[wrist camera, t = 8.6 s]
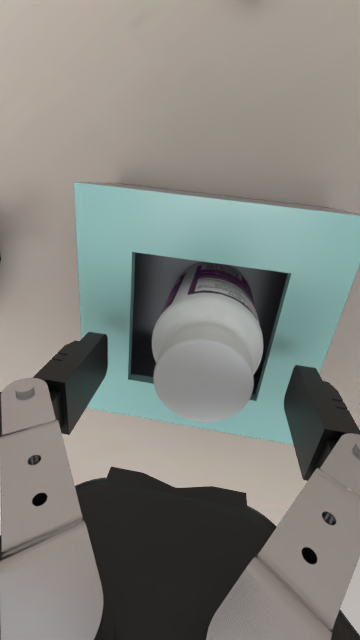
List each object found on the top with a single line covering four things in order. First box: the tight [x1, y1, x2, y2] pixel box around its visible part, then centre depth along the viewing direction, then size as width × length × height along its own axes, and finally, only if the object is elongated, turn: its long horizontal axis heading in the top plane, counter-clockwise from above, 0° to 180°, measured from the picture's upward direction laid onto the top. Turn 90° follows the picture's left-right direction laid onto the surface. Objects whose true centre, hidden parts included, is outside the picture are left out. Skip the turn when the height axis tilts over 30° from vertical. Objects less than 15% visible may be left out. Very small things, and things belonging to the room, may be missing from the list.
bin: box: [74, 182, 360, 445], centre depth 18 cm, size 13×13×6 cm
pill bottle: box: [152, 262, 263, 422], centre depth 16 cm, size 5×5×10 cm
